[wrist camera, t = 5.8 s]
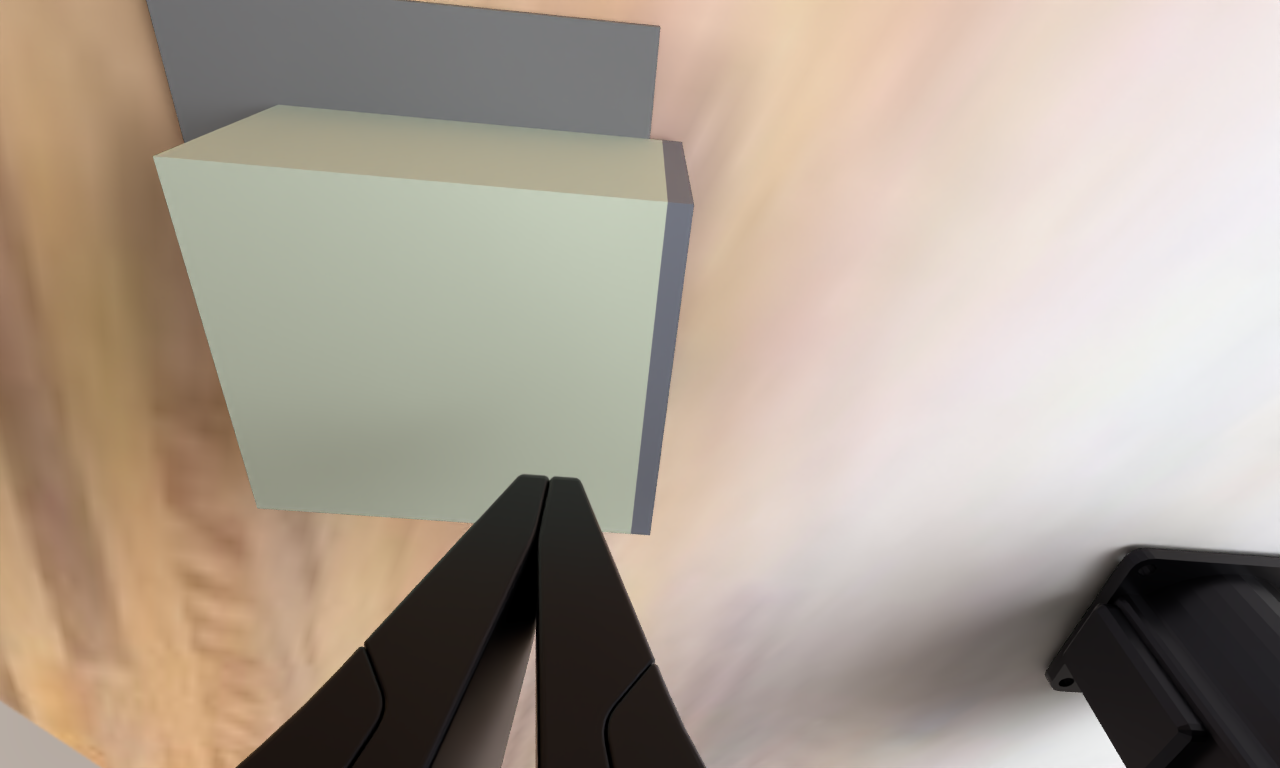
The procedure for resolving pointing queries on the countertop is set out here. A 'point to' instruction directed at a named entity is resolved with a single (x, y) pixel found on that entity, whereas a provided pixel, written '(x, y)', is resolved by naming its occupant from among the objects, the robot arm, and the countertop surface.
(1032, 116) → the countertop surface
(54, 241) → the countertop surface
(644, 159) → the sage block
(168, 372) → the countertop surface
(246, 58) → the mat
